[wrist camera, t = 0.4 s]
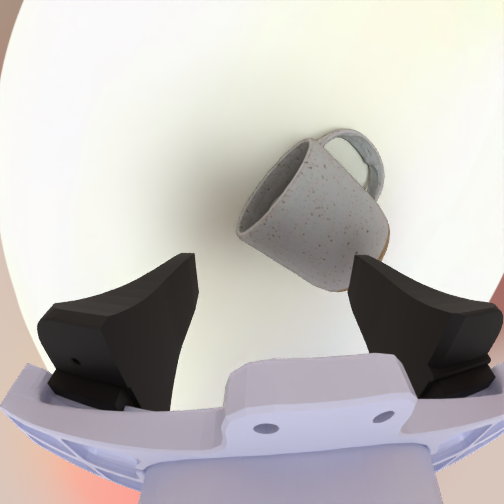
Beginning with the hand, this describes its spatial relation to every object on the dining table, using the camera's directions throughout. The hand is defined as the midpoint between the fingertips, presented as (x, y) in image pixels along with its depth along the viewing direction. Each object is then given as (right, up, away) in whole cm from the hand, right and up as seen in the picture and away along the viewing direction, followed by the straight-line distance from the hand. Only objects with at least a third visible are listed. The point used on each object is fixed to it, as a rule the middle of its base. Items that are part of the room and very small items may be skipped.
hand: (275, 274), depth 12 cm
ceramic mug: (+4, +6, +8) cm, 11 cm away
